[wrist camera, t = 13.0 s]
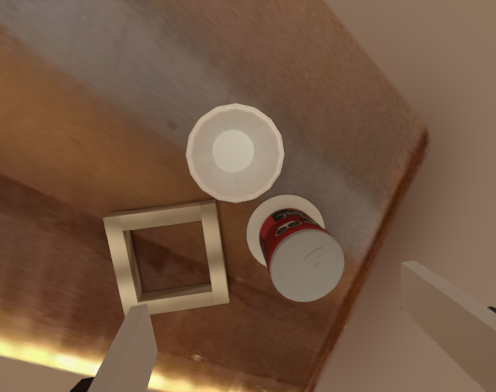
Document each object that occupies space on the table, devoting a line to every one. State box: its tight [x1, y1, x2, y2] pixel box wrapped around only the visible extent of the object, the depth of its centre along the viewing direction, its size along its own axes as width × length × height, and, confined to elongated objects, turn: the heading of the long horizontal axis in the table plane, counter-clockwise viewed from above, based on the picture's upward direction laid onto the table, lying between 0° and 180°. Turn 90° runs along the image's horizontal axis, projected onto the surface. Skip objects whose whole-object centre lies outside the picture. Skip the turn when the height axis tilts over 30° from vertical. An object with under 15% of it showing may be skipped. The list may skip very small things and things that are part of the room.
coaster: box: [246, 194, 325, 267], centre depth 41 cm, size 11×11×1 cm
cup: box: [186, 103, 285, 203], centre depth 34 cm, size 10×10×9 cm
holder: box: [103, 199, 229, 318], centre depth 39 cm, size 14×14×2 cm
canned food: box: [259, 208, 344, 302], centre depth 35 cm, size 8×8×11 cm
